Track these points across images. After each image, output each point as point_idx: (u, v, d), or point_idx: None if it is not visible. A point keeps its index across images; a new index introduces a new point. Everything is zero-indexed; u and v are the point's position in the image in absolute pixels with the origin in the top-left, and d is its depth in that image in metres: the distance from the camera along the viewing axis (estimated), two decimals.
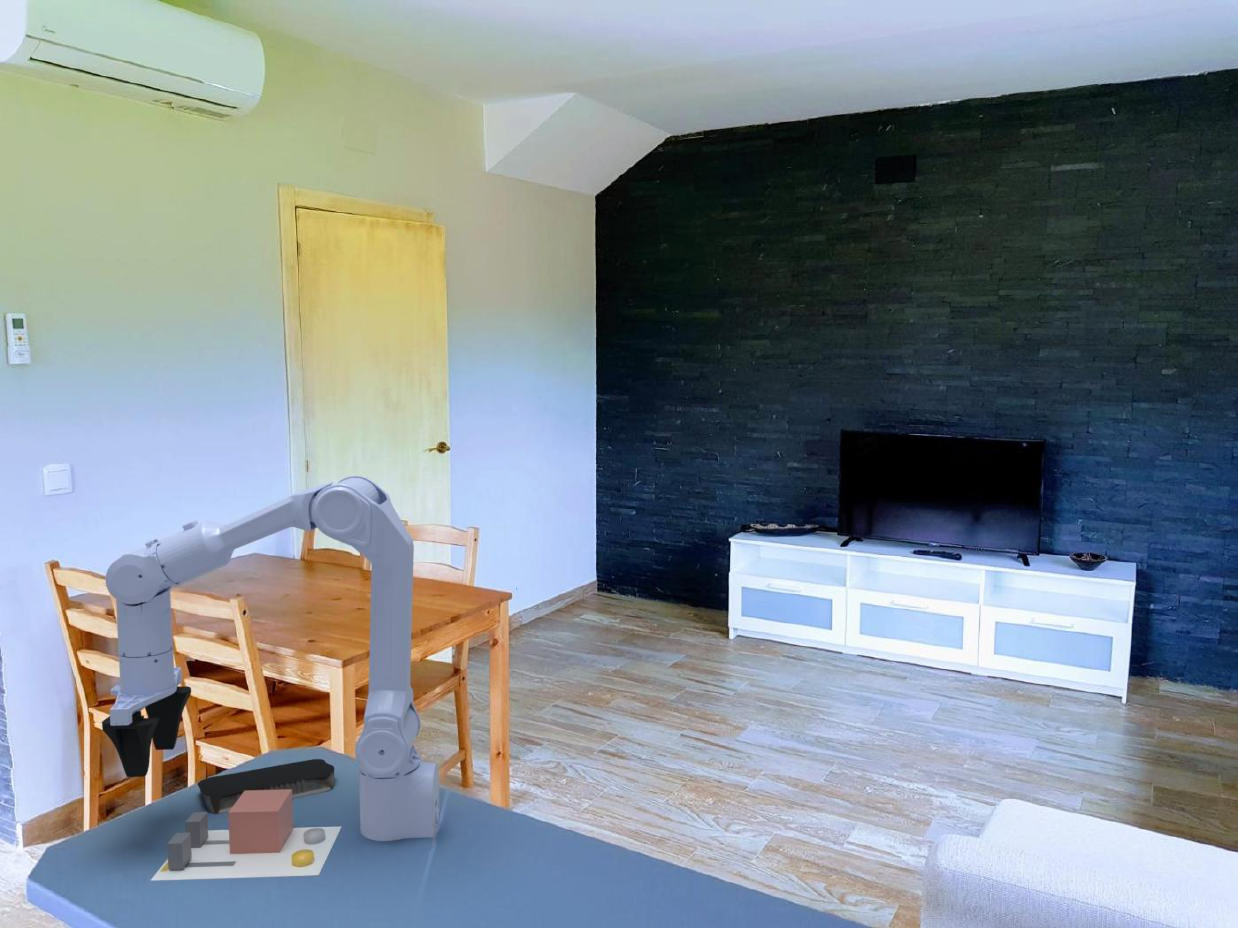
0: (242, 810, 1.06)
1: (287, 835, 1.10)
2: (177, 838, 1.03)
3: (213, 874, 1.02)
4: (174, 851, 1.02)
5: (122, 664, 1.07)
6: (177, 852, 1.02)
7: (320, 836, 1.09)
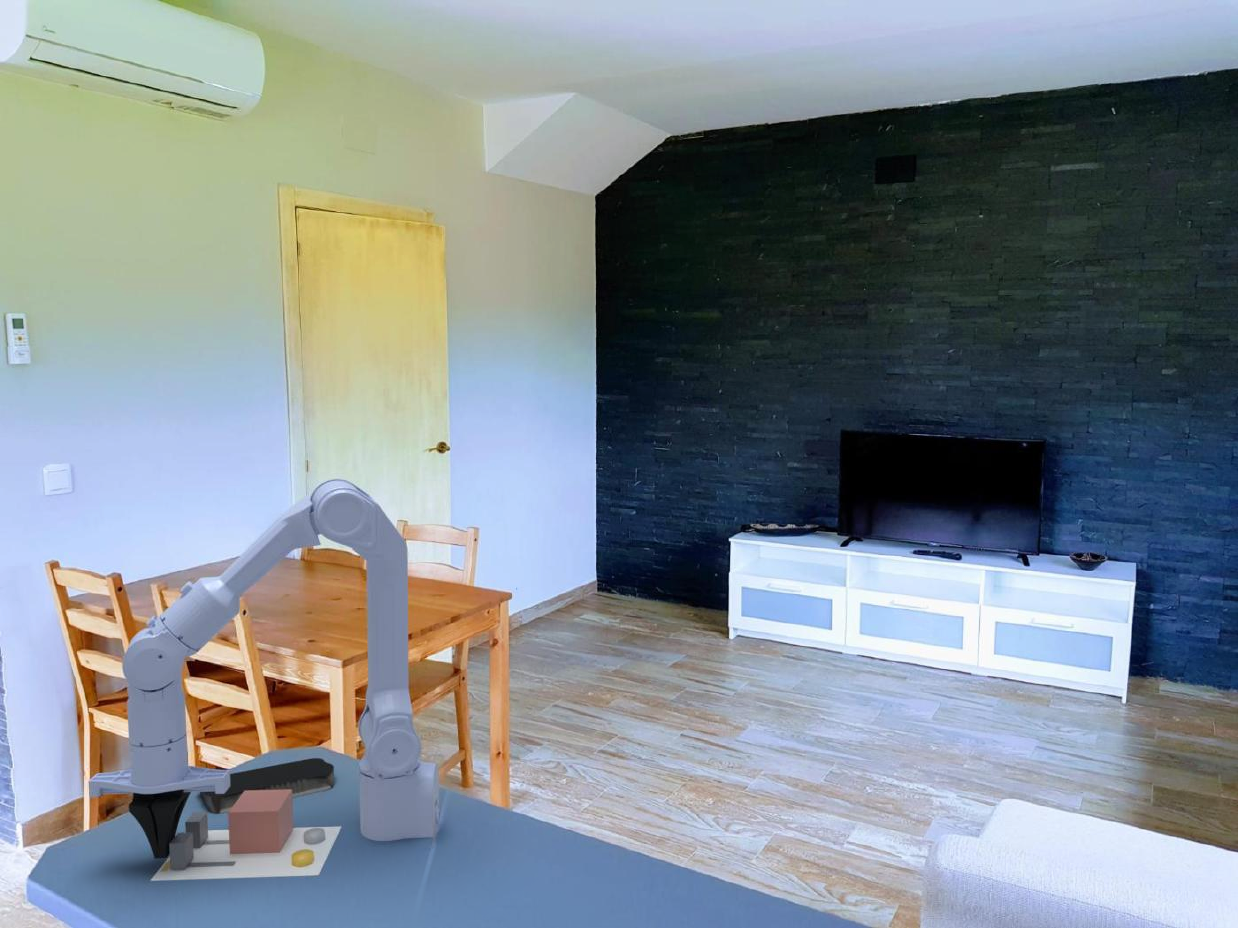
0: (242, 810, 1.06)
1: (287, 835, 1.10)
2: (179, 838, 1.03)
3: (213, 874, 1.02)
4: (176, 851, 1.02)
5: None
6: (179, 852, 1.02)
7: (320, 836, 1.09)
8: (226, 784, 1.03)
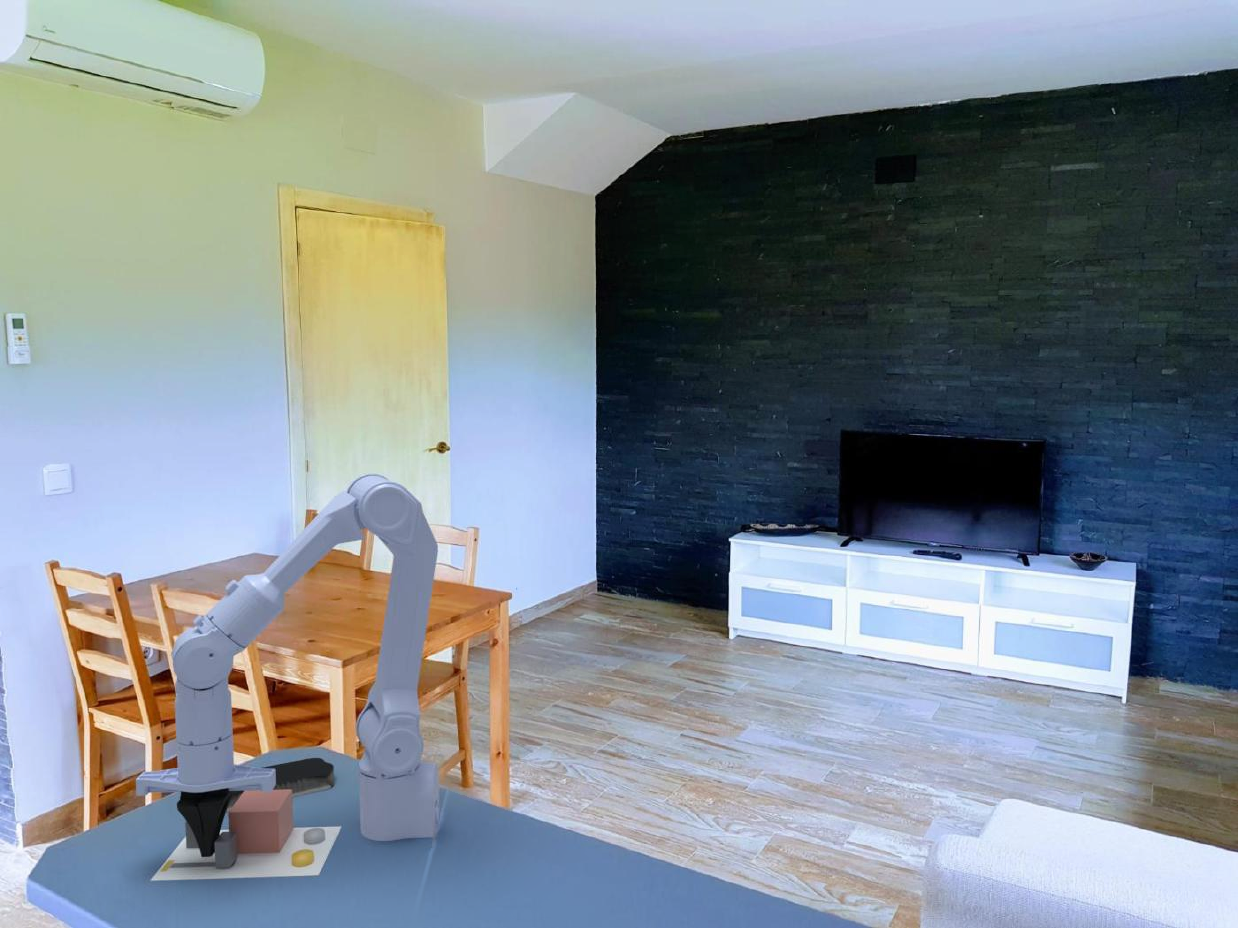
0: (242, 810, 1.06)
1: (287, 835, 1.10)
2: (223, 836, 1.04)
3: (213, 874, 1.02)
4: (221, 850, 1.03)
5: None
6: (224, 850, 1.03)
7: (320, 836, 1.09)
8: (272, 783, 1.03)
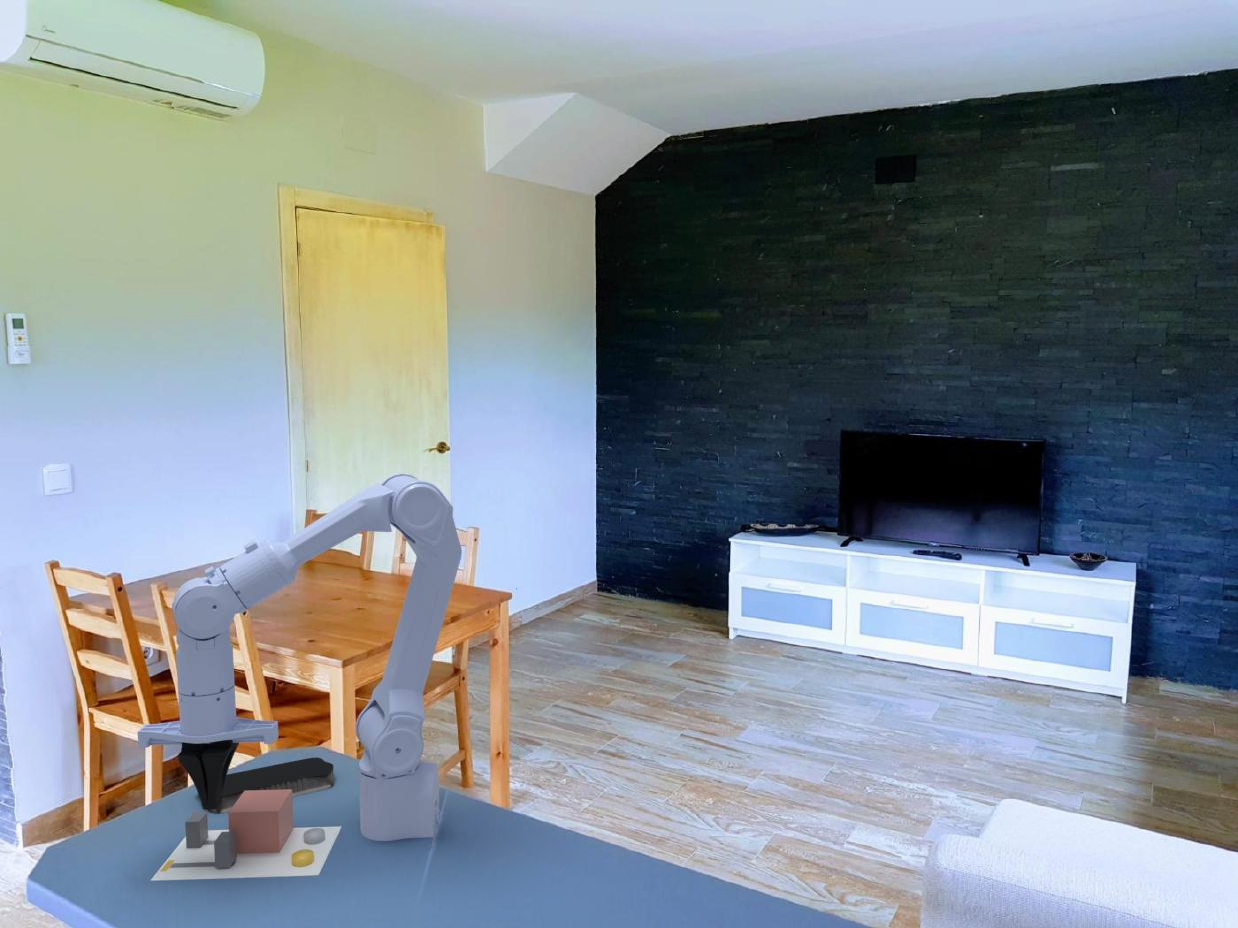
0: (242, 810, 1.06)
1: (287, 835, 1.10)
2: (223, 836, 1.04)
3: (213, 874, 1.02)
4: (221, 850, 1.03)
5: None
6: (223, 851, 1.03)
7: (320, 836, 1.09)
8: (275, 735, 1.03)
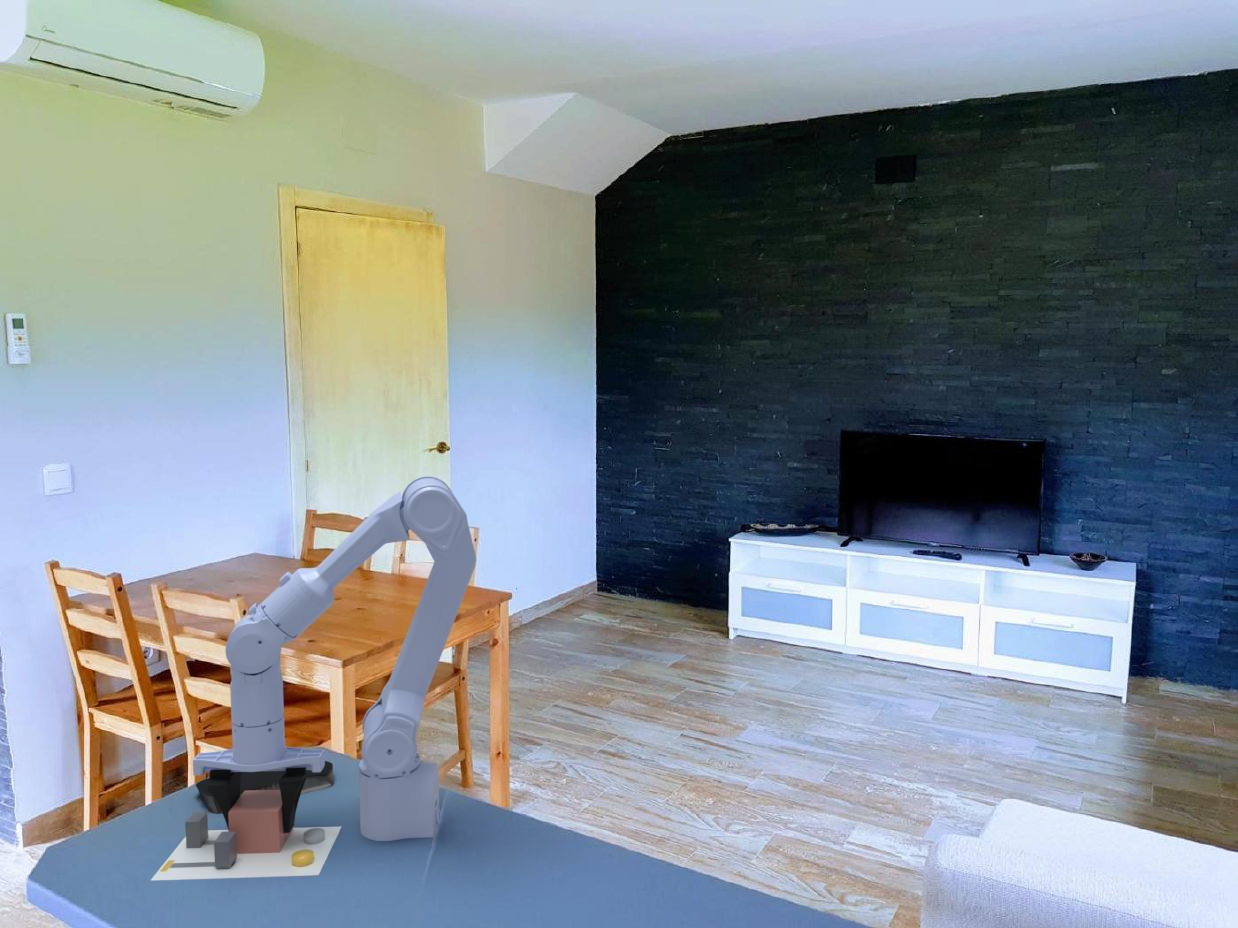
0: (242, 810, 1.06)
1: (287, 835, 1.10)
2: (223, 836, 1.04)
3: (213, 874, 1.02)
4: (221, 850, 1.03)
5: None
6: (223, 851, 1.03)
7: (320, 836, 1.09)
8: (322, 763, 1.09)
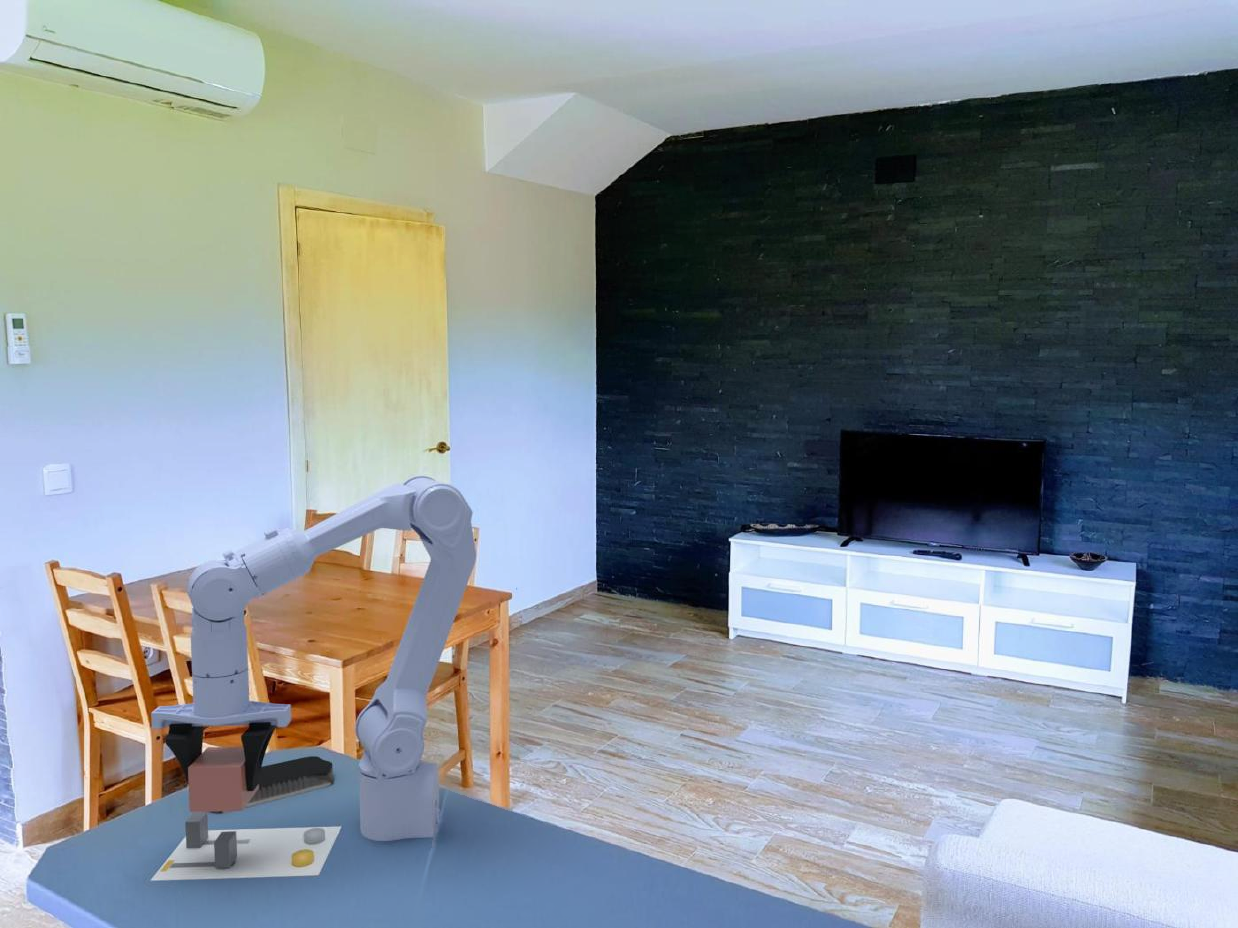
0: (203, 766, 1.01)
1: (251, 794, 1.04)
2: (223, 836, 1.04)
3: (213, 874, 1.02)
4: (221, 850, 1.03)
5: None
6: (223, 851, 1.03)
7: (320, 836, 1.09)
8: (287, 718, 1.03)
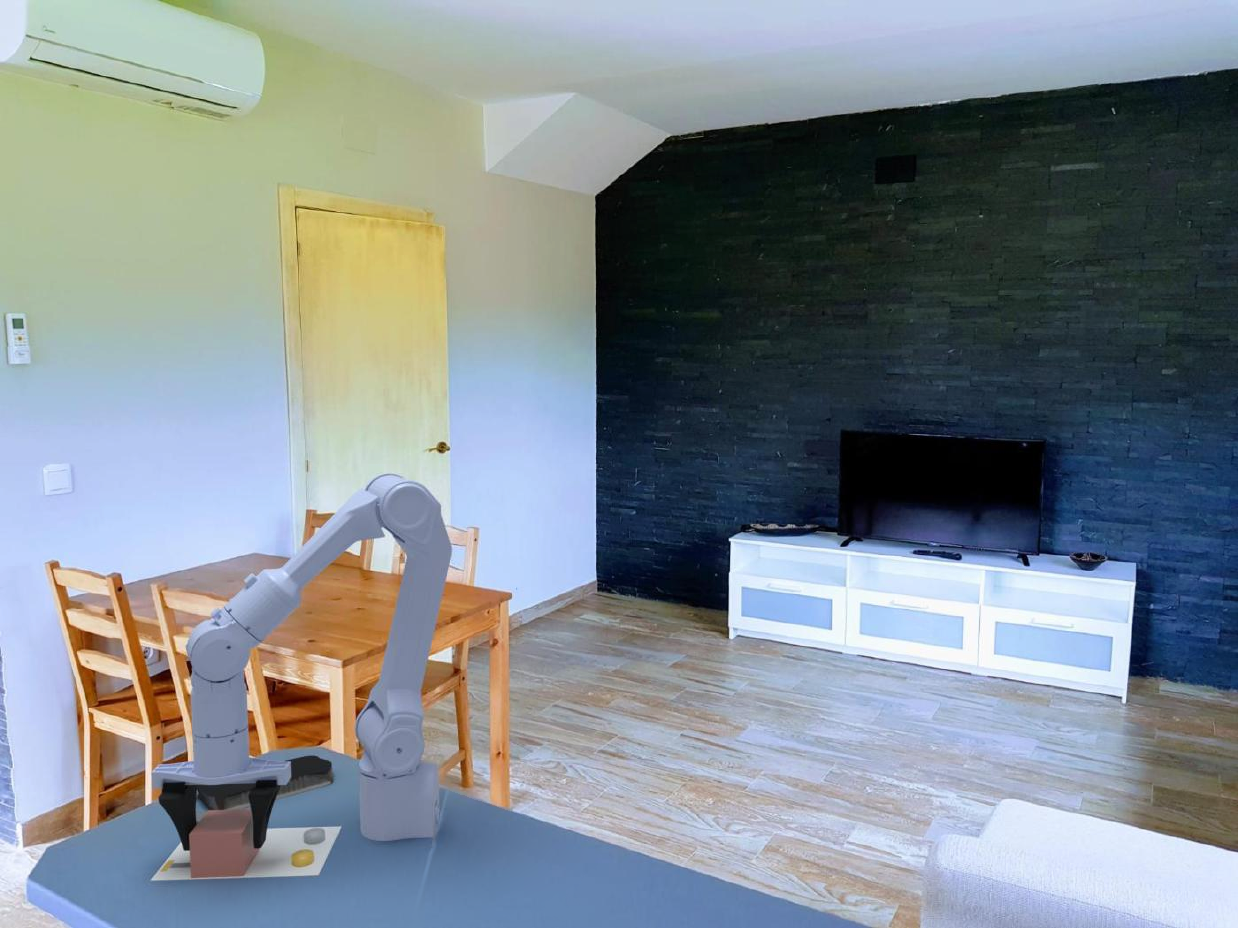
0: (204, 832, 1.01)
1: (252, 857, 1.05)
2: None
3: None
4: None
5: None
6: None
7: (320, 836, 1.09)
8: (288, 775, 1.03)
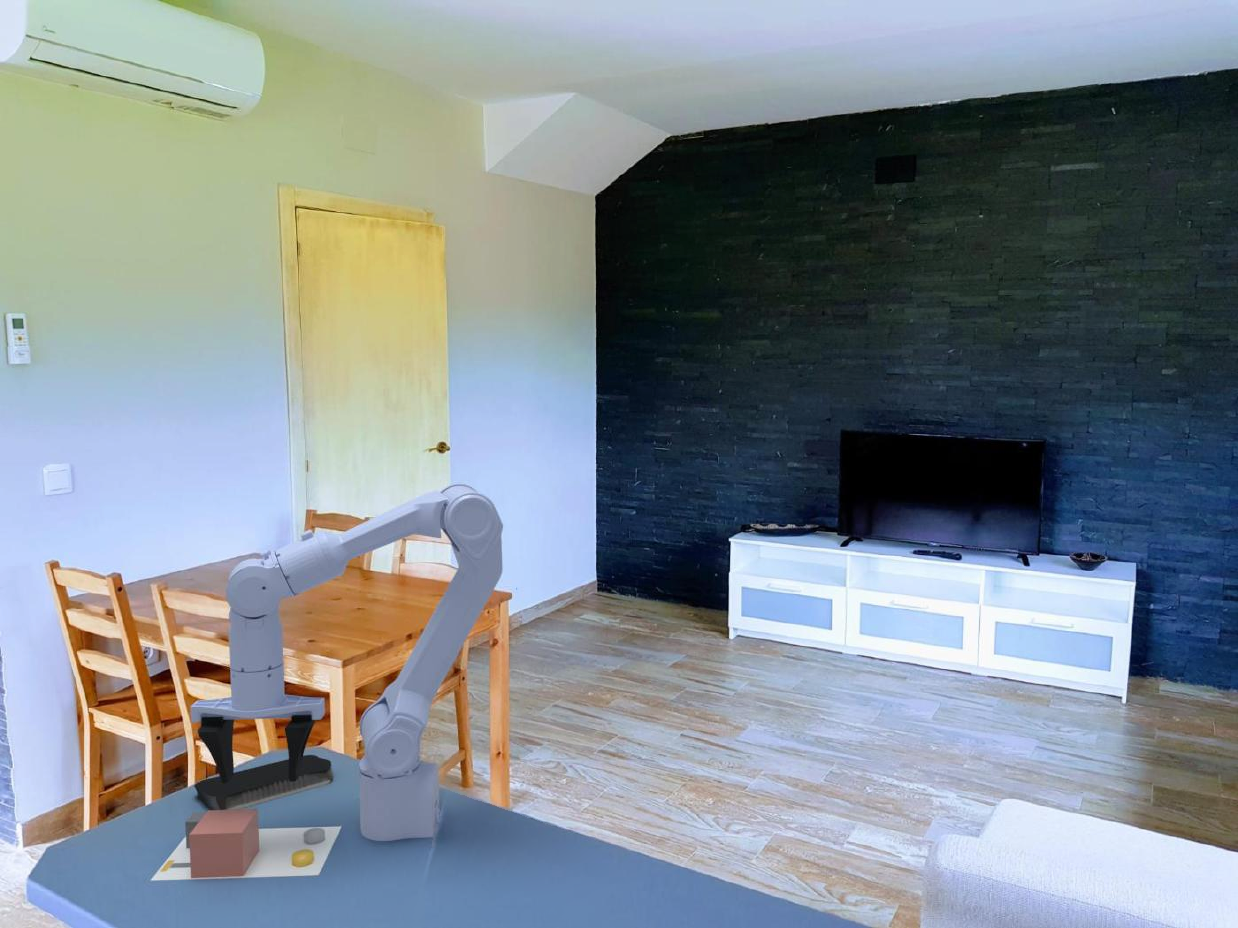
0: (204, 832, 1.01)
1: (252, 857, 1.05)
2: None
3: None
4: None
5: None
6: None
7: (320, 836, 1.09)
8: (322, 711, 1.07)
